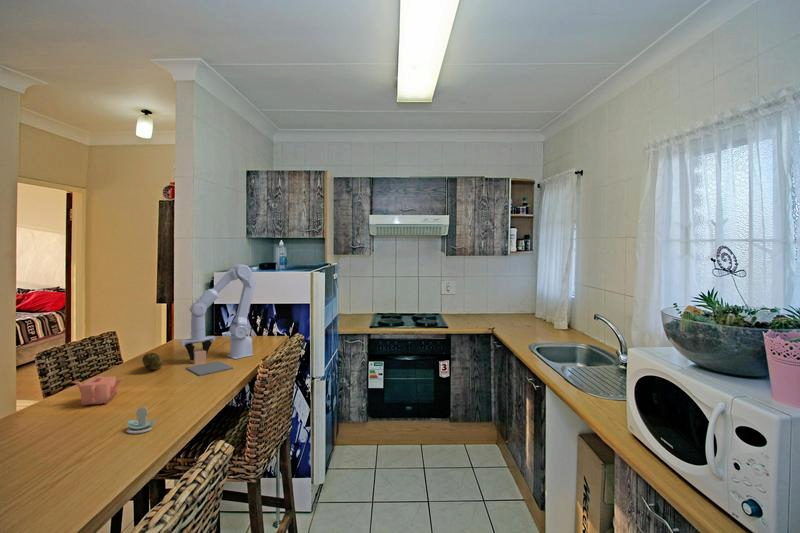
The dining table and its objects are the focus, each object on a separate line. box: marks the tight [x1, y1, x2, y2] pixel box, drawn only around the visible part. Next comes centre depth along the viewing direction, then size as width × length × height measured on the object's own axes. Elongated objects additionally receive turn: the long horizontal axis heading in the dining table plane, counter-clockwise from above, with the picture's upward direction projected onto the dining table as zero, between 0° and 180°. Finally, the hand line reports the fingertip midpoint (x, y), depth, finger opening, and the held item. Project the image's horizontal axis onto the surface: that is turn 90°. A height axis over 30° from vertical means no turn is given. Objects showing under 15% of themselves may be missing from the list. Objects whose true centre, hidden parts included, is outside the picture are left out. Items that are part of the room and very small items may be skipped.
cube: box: [189, 348, 207, 365], centre depth 185 cm, size 5×5×5 cm
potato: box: [141, 352, 164, 371], centre depth 172 cm, size 8×13×8 cm, turn 7°
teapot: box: [72, 375, 125, 406], centre depth 138 cm, size 12×15×8 cm
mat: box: [185, 360, 234, 377], centre depth 175 cm, size 14×14×1 cm
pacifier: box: [126, 406, 157, 435], centre depth 117 cm, size 7×6×6 cm
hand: (198, 358), depth 185 cm, fingers closed on cube, 5 cm apart
